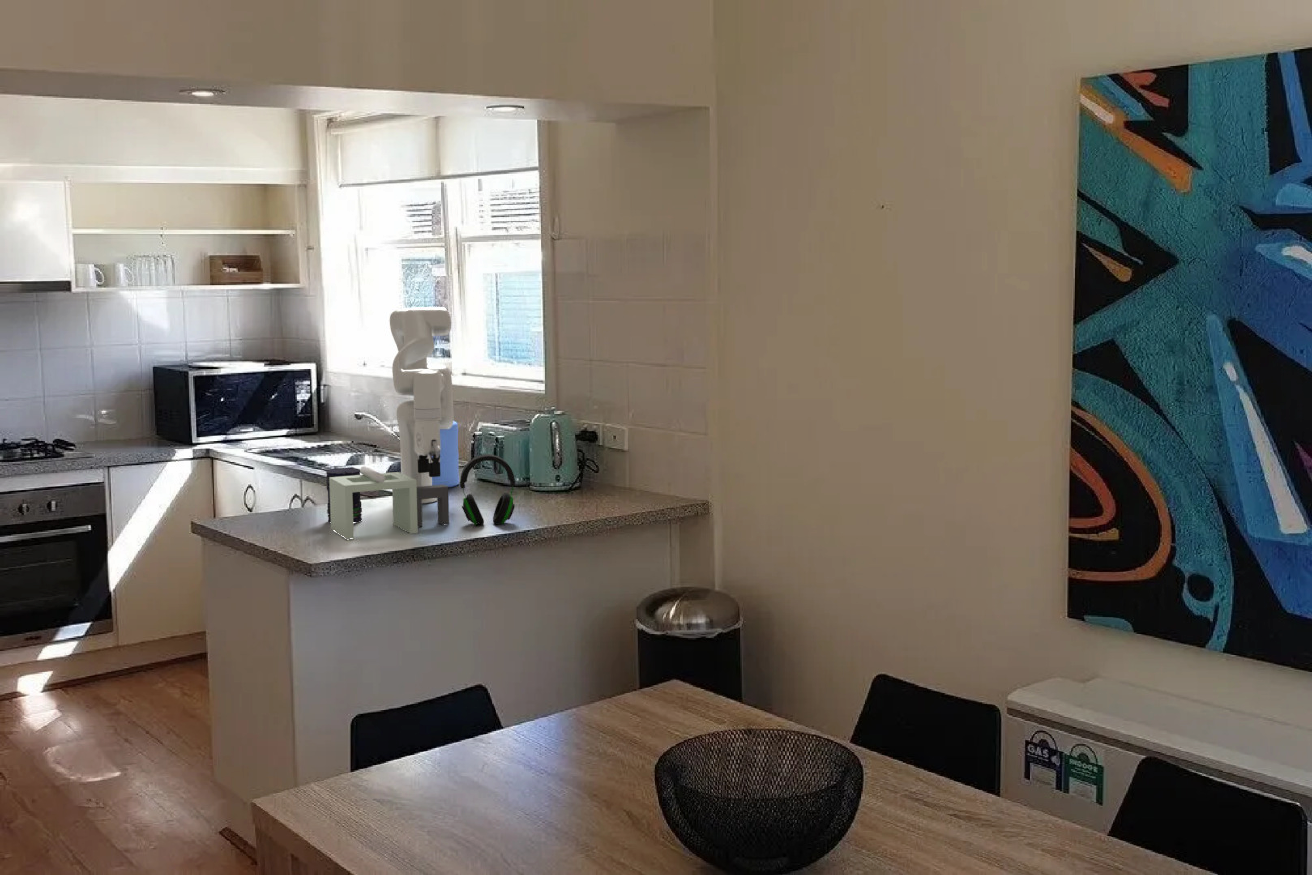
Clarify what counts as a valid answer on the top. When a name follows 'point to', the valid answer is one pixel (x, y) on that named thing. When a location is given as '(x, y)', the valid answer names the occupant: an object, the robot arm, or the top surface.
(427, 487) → the grey bridge arch
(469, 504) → the headphones
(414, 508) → the shelf
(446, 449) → the light blue cylinder
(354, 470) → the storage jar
